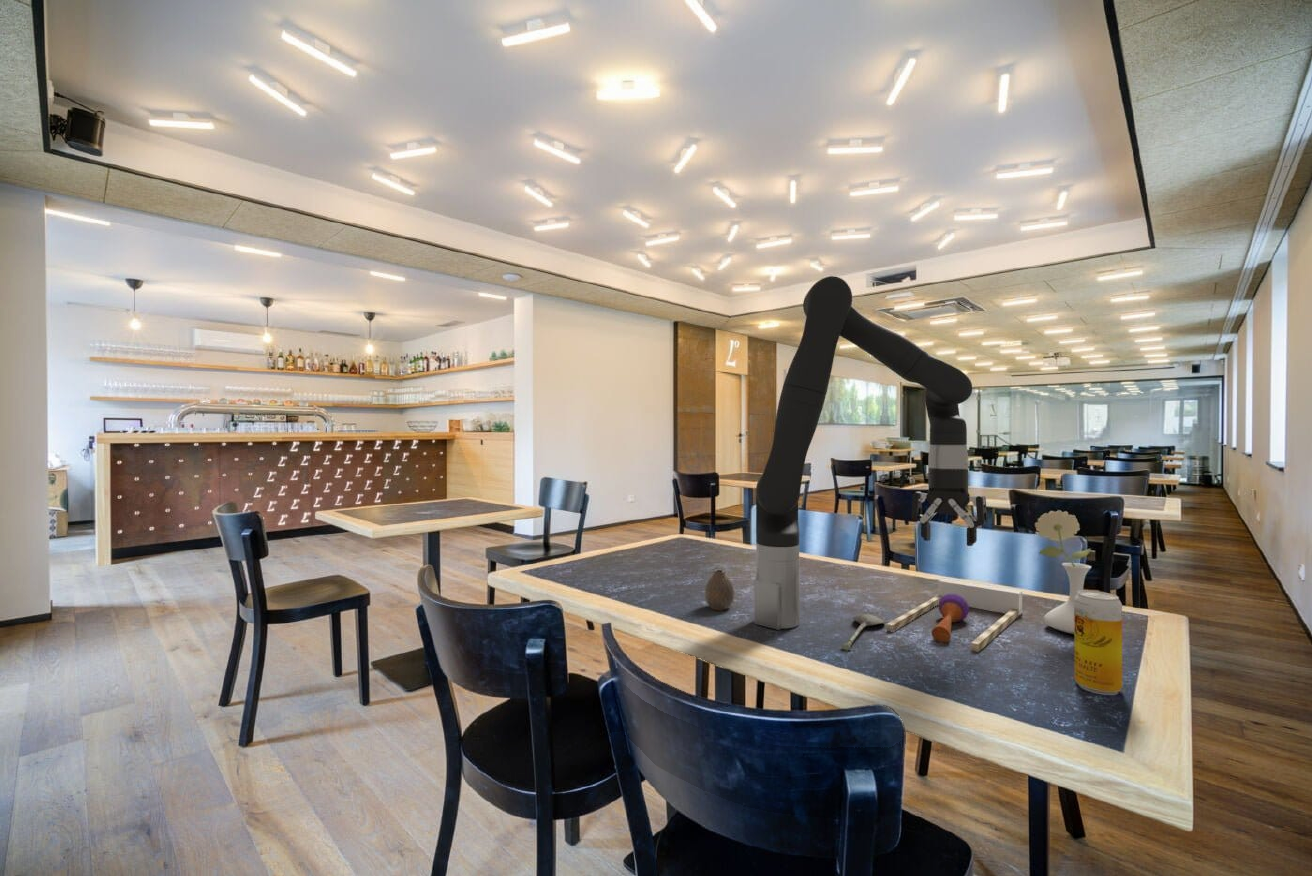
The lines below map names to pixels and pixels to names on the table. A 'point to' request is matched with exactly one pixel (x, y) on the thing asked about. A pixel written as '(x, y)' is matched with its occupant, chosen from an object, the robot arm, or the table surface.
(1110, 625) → the beer can
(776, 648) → the table surface
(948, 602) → the kendama
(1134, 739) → the table surface
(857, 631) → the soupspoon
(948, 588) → the end stop
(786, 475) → the robot arm
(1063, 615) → the flower in vase
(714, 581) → the vase
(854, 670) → the table surface
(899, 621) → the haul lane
